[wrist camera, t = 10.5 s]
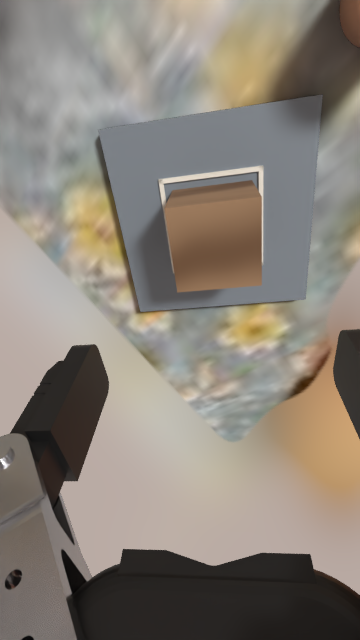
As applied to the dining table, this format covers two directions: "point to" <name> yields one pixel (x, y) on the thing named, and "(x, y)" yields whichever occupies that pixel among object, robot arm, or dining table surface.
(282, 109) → the board
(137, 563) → the robot arm
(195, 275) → the walnut block
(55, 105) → the dining table surface
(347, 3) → the terracotta cylinder
